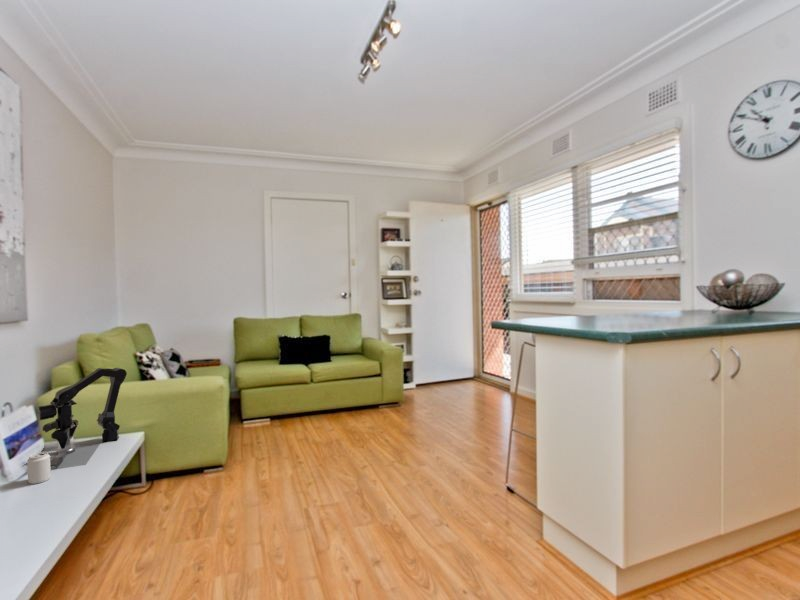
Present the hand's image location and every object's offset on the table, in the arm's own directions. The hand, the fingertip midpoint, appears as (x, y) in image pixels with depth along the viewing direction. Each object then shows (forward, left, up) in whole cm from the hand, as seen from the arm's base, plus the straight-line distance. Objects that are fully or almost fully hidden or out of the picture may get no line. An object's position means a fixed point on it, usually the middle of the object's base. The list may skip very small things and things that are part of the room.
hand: (66, 445), depth 208 cm
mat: (-4, +7, -4) cm, 9 cm away
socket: (0, 0, -2) cm, 2 cm away
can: (+1, +31, -4) cm, 31 cm away
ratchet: (0, +9, -4) cm, 9 cm away
